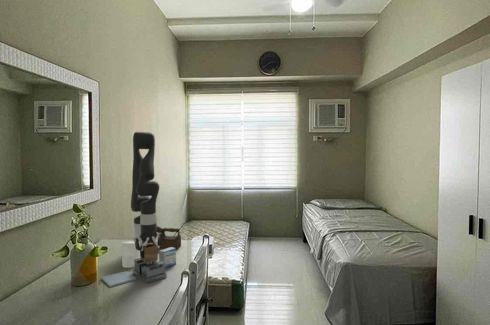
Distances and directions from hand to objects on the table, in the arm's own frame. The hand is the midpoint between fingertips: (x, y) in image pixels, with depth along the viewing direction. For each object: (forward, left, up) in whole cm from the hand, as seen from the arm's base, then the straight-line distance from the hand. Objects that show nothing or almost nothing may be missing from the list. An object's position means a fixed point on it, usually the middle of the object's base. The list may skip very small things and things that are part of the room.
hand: (149, 256), depth 154 cm
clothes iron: (-33, +28, -10) cm, 44 cm away
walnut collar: (0, 0, -2) cm, 2 cm away
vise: (0, 0, -9) cm, 9 cm away
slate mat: (-5, -13, -9) cm, 17 cm away
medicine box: (-6, +13, -10) cm, 17 cm away
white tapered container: (-20, -1, -10) cm, 22 cm away
